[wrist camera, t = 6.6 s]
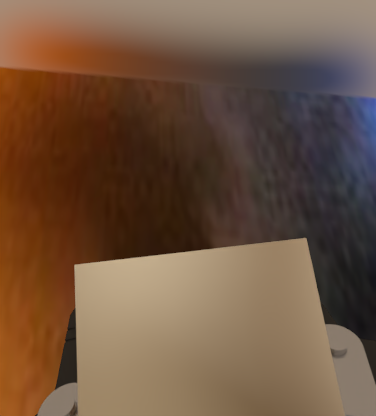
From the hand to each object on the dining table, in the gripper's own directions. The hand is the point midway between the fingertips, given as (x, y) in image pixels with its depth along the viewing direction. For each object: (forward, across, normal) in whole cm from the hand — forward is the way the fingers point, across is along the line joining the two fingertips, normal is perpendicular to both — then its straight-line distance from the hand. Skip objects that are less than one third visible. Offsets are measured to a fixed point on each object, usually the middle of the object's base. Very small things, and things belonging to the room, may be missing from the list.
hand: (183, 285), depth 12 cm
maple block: (+2, 0, +4) cm, 5 cm away
